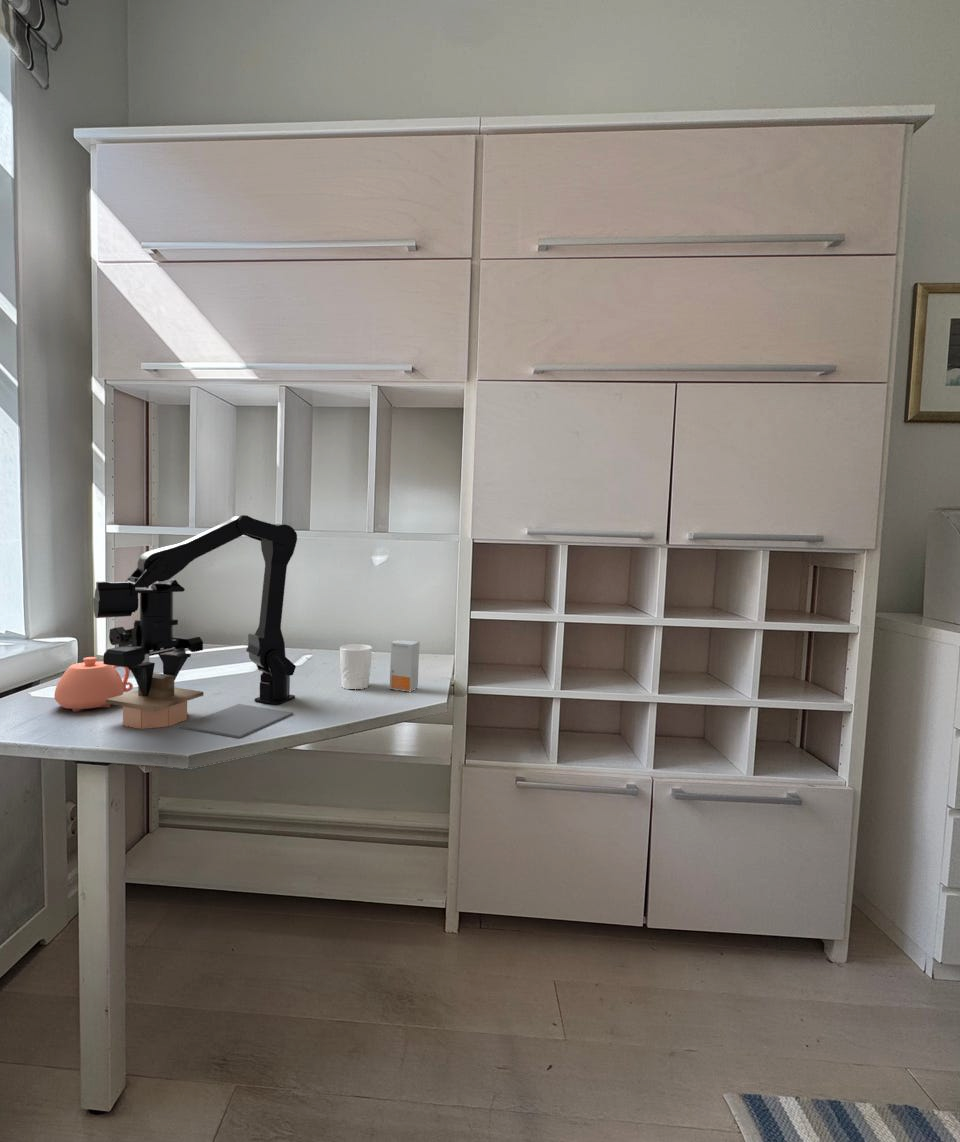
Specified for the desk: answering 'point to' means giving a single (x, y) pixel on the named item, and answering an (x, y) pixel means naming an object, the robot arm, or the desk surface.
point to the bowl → (154, 716)
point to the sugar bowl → (90, 685)
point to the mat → (236, 720)
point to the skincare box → (404, 665)
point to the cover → (156, 695)
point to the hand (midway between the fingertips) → (156, 692)
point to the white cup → (355, 666)
